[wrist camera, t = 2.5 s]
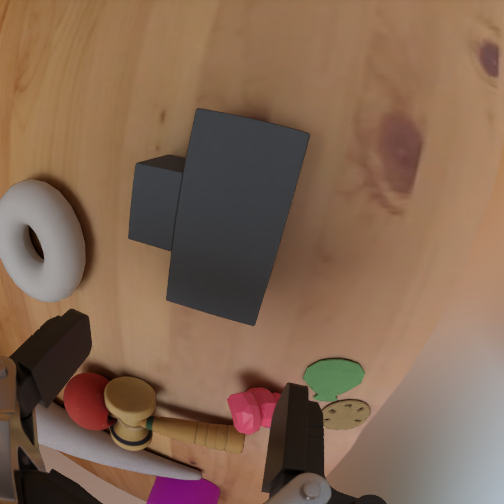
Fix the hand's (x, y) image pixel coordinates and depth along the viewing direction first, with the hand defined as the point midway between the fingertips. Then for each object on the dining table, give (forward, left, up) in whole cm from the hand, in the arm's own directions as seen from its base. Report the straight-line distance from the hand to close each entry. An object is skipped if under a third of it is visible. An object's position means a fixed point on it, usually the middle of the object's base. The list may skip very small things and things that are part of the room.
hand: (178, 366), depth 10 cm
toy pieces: (+11, +9, -10) cm, 17 cm away
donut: (+2, -15, -10) cm, 18 cm away
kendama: (+17, -4, -10) cm, 20 cm away
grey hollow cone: (+29, -11, -10) cm, 33 cm away
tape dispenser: (+42, +1, -10) cm, 43 cm away
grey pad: (-4, -1, -9) cm, 10 cm away
